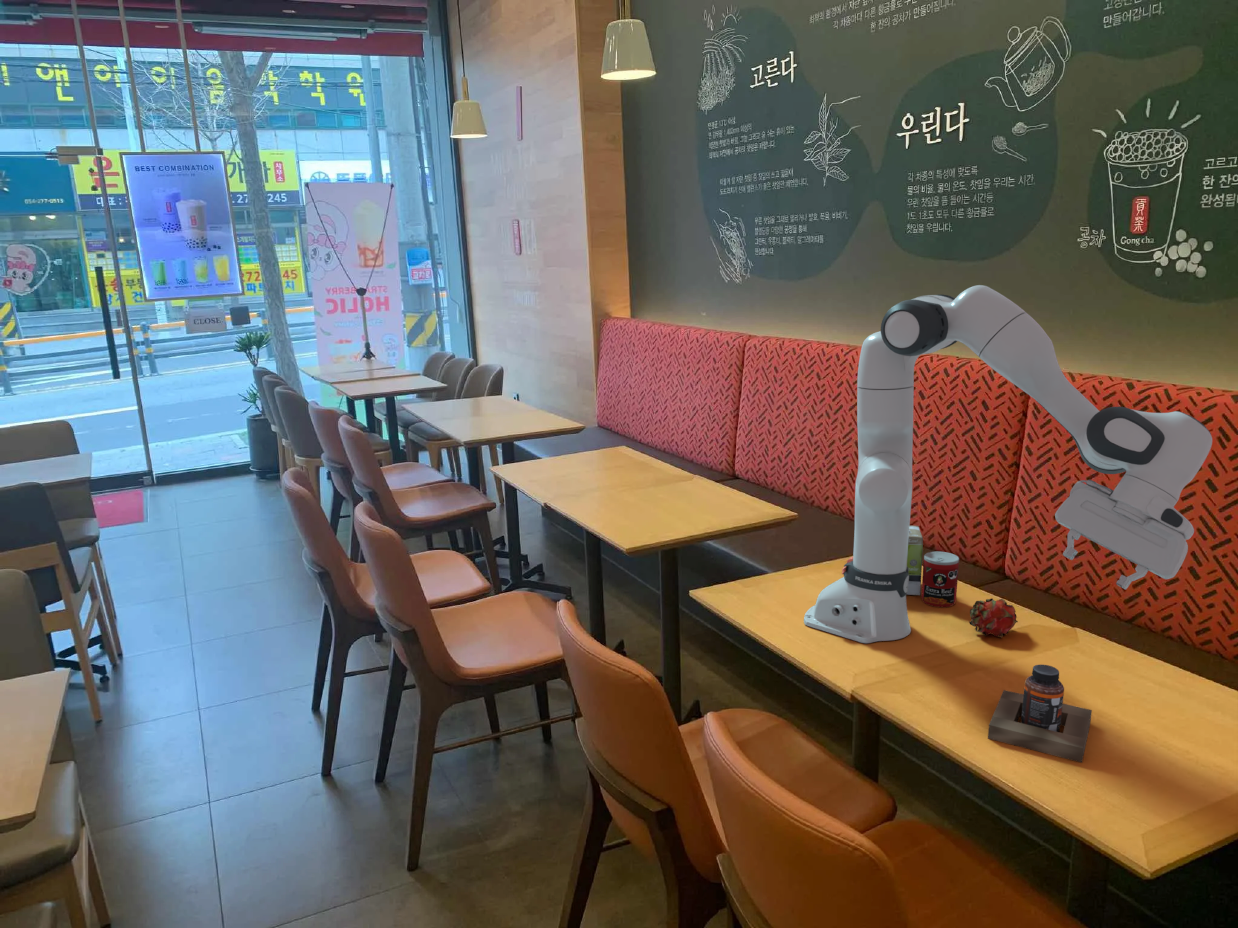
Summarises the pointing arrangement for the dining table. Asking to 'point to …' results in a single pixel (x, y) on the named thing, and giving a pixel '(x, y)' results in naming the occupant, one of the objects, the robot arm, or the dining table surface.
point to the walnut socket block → (1040, 729)
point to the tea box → (914, 560)
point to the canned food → (940, 579)
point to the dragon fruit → (993, 617)
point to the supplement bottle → (1043, 698)
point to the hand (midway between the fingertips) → (1093, 571)
